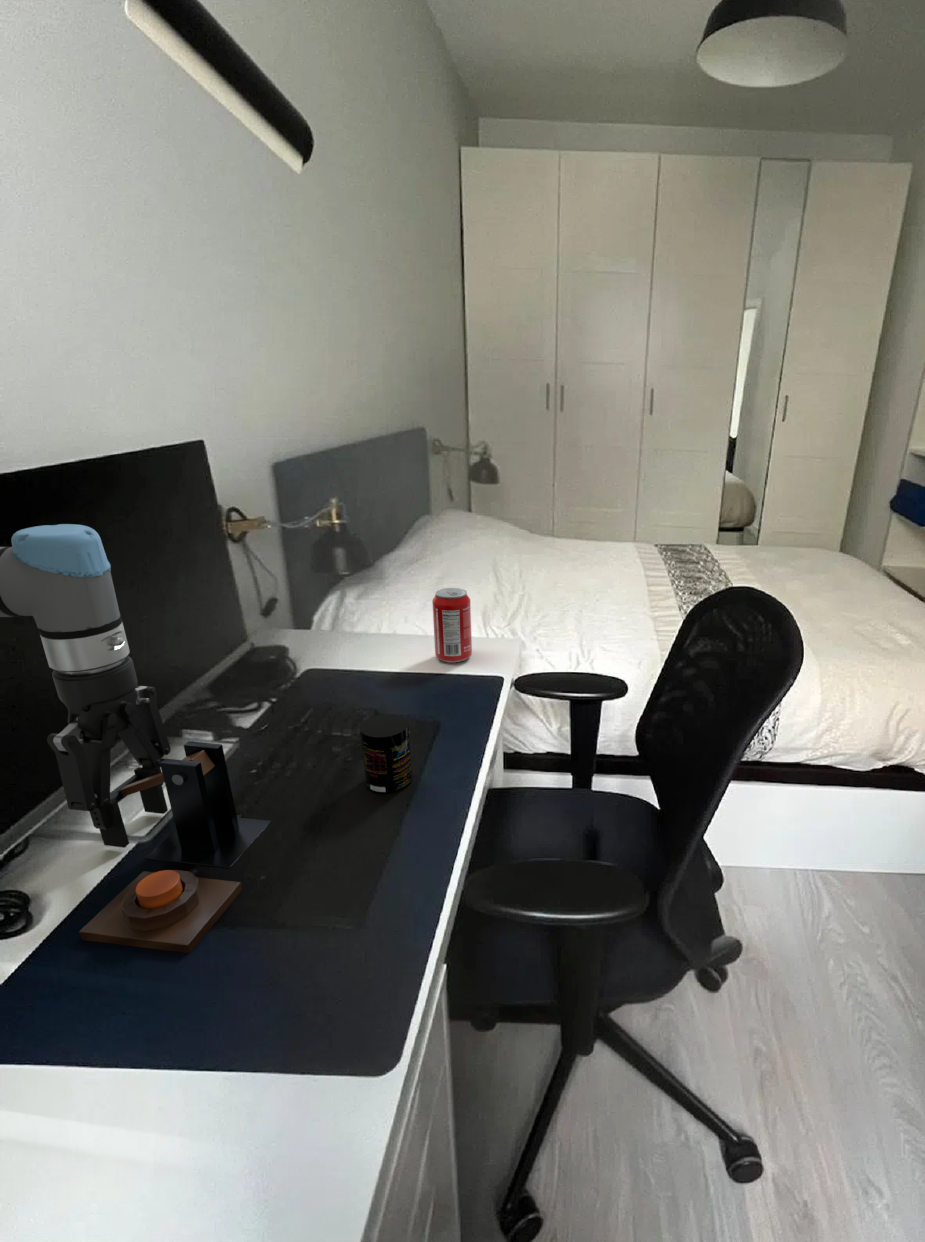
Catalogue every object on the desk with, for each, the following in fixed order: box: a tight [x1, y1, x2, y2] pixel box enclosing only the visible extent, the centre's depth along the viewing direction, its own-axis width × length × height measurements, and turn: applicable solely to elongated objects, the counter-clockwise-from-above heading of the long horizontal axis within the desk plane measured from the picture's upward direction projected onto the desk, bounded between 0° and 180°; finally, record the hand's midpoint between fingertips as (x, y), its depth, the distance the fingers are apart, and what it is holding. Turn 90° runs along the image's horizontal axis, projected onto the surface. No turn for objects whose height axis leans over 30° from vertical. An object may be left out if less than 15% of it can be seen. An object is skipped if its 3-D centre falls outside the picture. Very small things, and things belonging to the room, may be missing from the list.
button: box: [136, 869, 183, 909], centre depth 69 cm, size 4×4×2 cm
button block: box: [78, 869, 243, 954], centre depth 70 cm, size 12×9×4 cm
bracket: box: [144, 740, 272, 869], centre depth 80 cm, size 11×9×14 cm
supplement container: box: [359, 713, 414, 795], centre depth 94 cm, size 7×7×10 cm
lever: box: [110, 750, 215, 804], centre depth 79 cm, size 14×6×2 cm, turn 84°
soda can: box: [431, 587, 473, 664], centre depth 137 cm, size 8×8×15 cm
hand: (137, 826), depth 82 cm, fingers closed on lever, 6 cm apart
